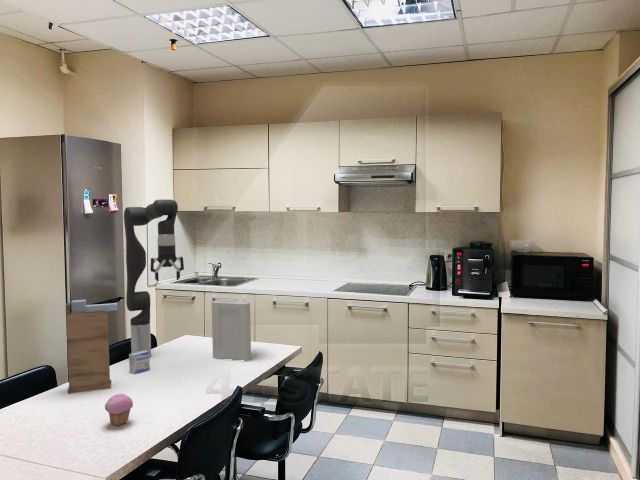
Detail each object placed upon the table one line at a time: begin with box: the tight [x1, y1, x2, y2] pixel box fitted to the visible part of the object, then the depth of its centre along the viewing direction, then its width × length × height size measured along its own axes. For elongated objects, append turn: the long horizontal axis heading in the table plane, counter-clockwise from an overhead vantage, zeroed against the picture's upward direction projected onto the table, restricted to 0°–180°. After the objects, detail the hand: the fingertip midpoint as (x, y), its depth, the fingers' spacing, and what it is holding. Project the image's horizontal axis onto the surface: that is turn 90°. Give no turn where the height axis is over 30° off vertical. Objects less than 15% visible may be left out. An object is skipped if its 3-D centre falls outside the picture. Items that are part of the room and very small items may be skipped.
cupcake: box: [104, 393, 134, 427], centre depth 172 cm, size 9×9×10 cm
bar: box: [71, 299, 119, 313], centre depth 206 cm, size 5×17×5 cm, turn 110°
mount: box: [65, 301, 112, 395], centre depth 206 cm, size 7×16×36 cm, turn 110°
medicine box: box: [128, 350, 151, 375], centre depth 229 cm, size 8×4×9 cm, turn 143°
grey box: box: [211, 297, 252, 362], centre depth 250 cm, size 19×15×28 cm
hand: (167, 280), depth 223 cm, fingers open, 8 cm apart
